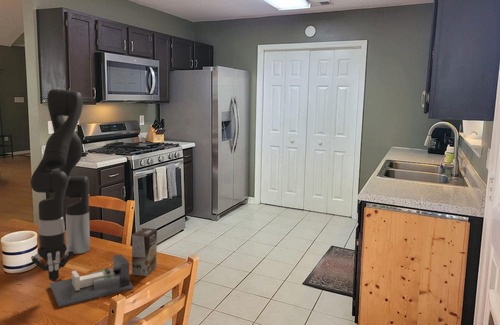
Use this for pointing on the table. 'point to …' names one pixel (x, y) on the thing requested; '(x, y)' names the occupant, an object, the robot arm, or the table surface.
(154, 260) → the coffee box
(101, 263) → the table surface
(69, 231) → the robot arm
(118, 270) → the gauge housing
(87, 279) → the plunger
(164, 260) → the table surface
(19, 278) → the table surface
